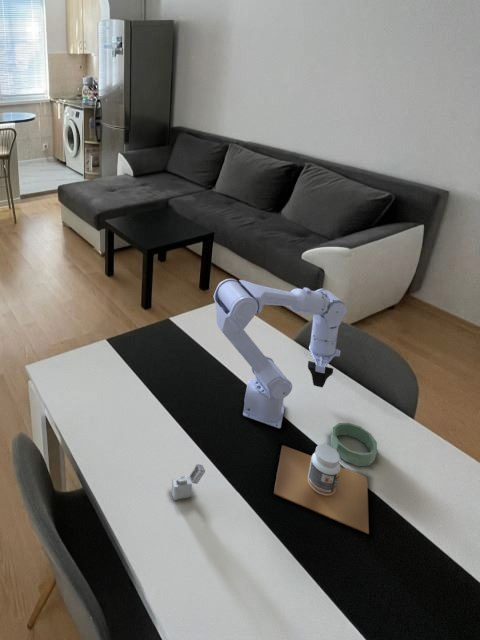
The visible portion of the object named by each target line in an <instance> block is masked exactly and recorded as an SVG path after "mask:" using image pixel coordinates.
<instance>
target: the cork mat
mask: <svg viewBox="0 0 480 640" xmlns="http://www.w3.org/2000/svg"><path fill="white" fill-rule="evenodd" d="M311 458H312V455H310V454H307V453H304V452H302V451H301V450H297V449H294V448H291V447H289V446H286V445H282V444H281V449H280V455H279V462H278V466H277V472H276V479H275V484H274V490H273V495H276V496H277V497H280V498H282V499H285V500H287V501H289V502H292V503H293V504H296V505H299V506H301V507H303V508H306V509H308V510H310V511H312V512H314V513H317V514H320V515H322V516H324V517H326V518H329V519H331V520H334V521H336V522H338V523H340V524H342V525H345V526H347V527H350V528H351V529H354V530H355V531H356V530H357V531H359V532H361V533H364V534H366V535H369V534H370V527H369V526H370V525H369V524H370V523H369V521H370V520H369V492H368V491H369V490H368V489H369V488H368V487H369V486H368V476H366V475H363V474H361V473H358V472H356V471H353V470H350V469H347V468H344V467H342V466H340V467H341V468H340V474H339V478H338V483H337V488H336V491H335V493H334V494H332V495H327V496H326V495H322V494H319V493H317V492H316V491H315V490H314V489H313V488H312V487H311V486H310V484H309V482H308V473H309V468H310V463H311Z"/></svg>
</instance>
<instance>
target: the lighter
mask: <svg viewBox="0 0 480 640" xmlns="http://www.w3.org/2000/svg"><path fill="white" fill-rule="evenodd" d="M205 473H206V469H205V467H204V464H199V463H196V464H195V466H194V468H193V470H192V471H191V472H190V474H189V475H188V476H186V475H182V476H178V477H177V478H174V479H172V480H171V495H172V498H173V500H174V501H178V500H183V499H188V498H191V497H192V491H193V489H192V488H193V484H196V485H198V484H199V482H200V481H201V479H202V478H203V476H204V474H205Z"/></svg>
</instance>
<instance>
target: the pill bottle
mask: <svg viewBox="0 0 480 640" xmlns="http://www.w3.org/2000/svg"><path fill="white" fill-rule="evenodd" d="M311 456H312V458H311V463H310V468H309V473H308V482H309V484H310V486H311V487H312V488H313V489H314V490H315V491H316V492H317V493H319V494H322V495H326V496H327V495H332V494H334V493H335V491H336V488H337V483H338V478H339V474H340V468H341V467H342V466H341V463H340V461H341V457H340V456H339V453H338V452H337V451H336V450H335V449H334V448H333V447H331V445H329V444H326V443H324V444H323V443H322V444H318V445H317V446H316V447H315V450H314V452H313V453H312V455H311Z"/></svg>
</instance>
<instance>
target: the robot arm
mask: <svg viewBox="0 0 480 640" xmlns="http://www.w3.org/2000/svg"><path fill="white" fill-rule="evenodd" d="M212 298H213V300H214V304H215V313H216V314H215V315H216V316H215V317H216V325H217V327H218V328H219V330H220V331H221V332H222V334H224V337H226V339H227V340H228V341H229V343H230V344H231V345H232V346H233V347H234V348H235V349H236V350H237V352H238V353H239V354H240V355H241V357H242V358H243V359H244V360H245V361H246V363H248V365H249V366H250V367H251V372H252V373H253V374H254V376H255V377H254V379H252V378H249V379H248V381H247V385H246V390H245V394H244V399H243V400H244V401H243V402H244V405H243V411H242V416H243V417H245V418H249V419H251V420H254V421H257V422H260V423H261V424H262V423H263V424H266V425H267V426H271V427H274V428H276V429H281V428H282V422H283V419H284V412H285V406H284V401H285V400H284V399H285V398H286V397H288V396H289V395H290V394H291V392H292V390H293V383H292V382H291V381H290V380H289V379H288V378H287V376H286V375H285V374H284V373H283V372H282V371H281V370H280V368H279V367H278V366H277V365H276V363H275V362H274V360H273V359H272V357H269V356H266V355H265V354H264V353H263V351H262V350H260V348H259V347H258V345H257V344H256V343H255V341H253V340H252V338H251V337H250V336H249V334H248V333H247V332H246V331H245V329H246V327H247V326H248V325H249V323H250V322H251V321H252V320H253V318H254V317H255V316H256V315H257V314H261V312H262V310H263V308H264V306H265V305H267V306H280V307H281V306H282V307H289V308H290V310H292V311H293V312H295V313H299V314H300V313H302V314H307V315H313V318H312V326H311V335H310V343H309V346H308V350H309V352H310V354H311V357H312V359H313V361H311V360H308V362H307V369H308V371H309V372H310V374H311V379H312V385H313V386H314V387H318V388H324V386H325V384H326V382H327V379H328V378H330V376H332V375H333V373H334V368H333V367H329V366H328V365H329V363H330V362H331V361H332V360H333V359H334V358H335V357H340V356H341V350H340V349H338V348H337V341H338V334H339V327H340V325H341V324H342V320H343V319H344V317H345V316H346V315H347V313H348V308H346V304H345V302H344V301H343V300H341V299H340V298H339V297H337V295H335V294H334V293H333V292H331V291H330V290H328V289H326V288H324V287H323V288H319V289H316V290H311V289H310V288H309V287H306V286H305V287H303V288H298V287H297V288H293V289H292V290H291V291H287V290H283V289H279V288H274V287H269V286H264V285H261V284H256V283H253V282H250V281H247V280H244V279H238V280H237V279H235V278H226V279H224V280H222V281H220V282H219V283H218V285H217V286H216V289H215V291H214V293H213V297H212Z"/></svg>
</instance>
